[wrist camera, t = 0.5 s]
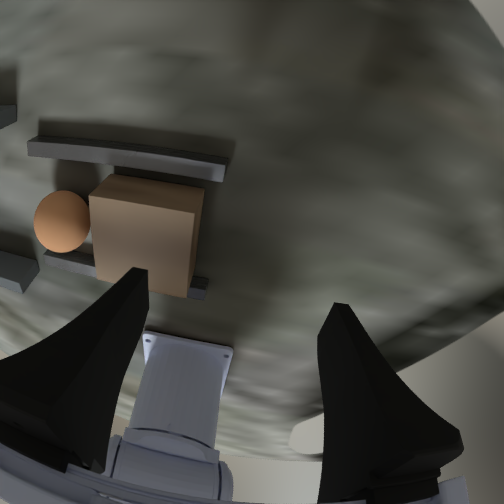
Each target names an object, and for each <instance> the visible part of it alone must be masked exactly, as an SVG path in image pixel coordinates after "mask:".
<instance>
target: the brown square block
mask: <svg viewBox="0 0 504 504" xmlns="http://www.w3.org/2000/svg"><path fill="white" fill-rule="evenodd" d="M204 192H205V189H203V188H198V187H192V186H186V185H180V184H174V183H168V182H162V181H156V180H150V179H143V178H137V177H130V176H123V175H116V174H110V175H109V176H108V177H107V178H106V179H105V180H104V181H103V182H102V183H101V184H100V185H99V186H98V187H97V188H96V189H95V190H94V191H93V192H92V193H91V194H90V195H89V210H90V222H91V233H92V243H93V251H94V259H95V267H96V274H97V279H99V280H103V281H107V282H112V283H116V282H117V281H118V280H119V279H120V278H121V277H122V276H123V275H124V274H125V273H126V272H128V271H129V270H130V269H131V268H132V267H137V268H141V269H146V270H148V289H149V291H152V292H157V293H161V294H166V295H171V296H176V297H181V298H186V297H187V294H188V290H189V287H190V283H191V280H192V276H193V273H194V269H195V262H196V254H197V245H198V237H199V229H200V221H201V214H202V206H203V199H204Z"/></svg>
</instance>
